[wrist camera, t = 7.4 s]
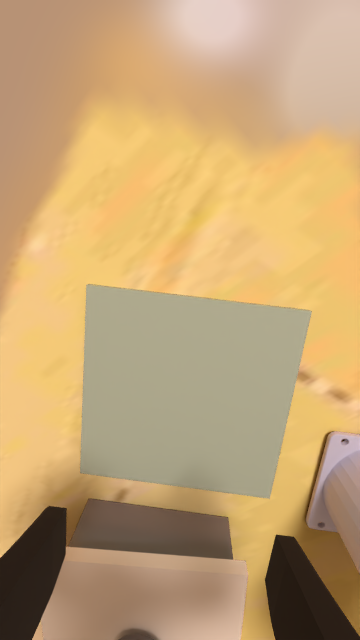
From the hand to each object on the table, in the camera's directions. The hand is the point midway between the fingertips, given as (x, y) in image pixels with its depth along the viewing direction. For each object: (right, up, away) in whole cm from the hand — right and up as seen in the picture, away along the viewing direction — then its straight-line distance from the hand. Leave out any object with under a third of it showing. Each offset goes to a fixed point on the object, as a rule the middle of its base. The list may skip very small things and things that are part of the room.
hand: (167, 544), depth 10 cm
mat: (+1, +2, +10) cm, 10 cm away
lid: (-2, -12, +9) cm, 16 cm away
